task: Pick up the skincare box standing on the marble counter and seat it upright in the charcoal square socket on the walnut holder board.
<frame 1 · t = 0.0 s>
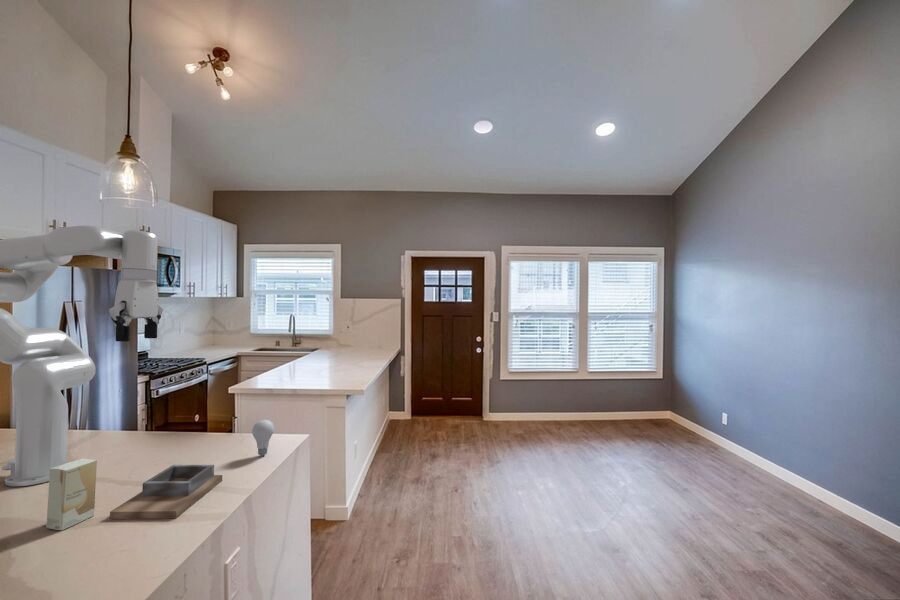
hand: (137, 339, 104), 37 cm above the counter, tool pointing down, fingers open, 9 cm apart
holder board: (171, 497, 92), on the counter
lightbulb: (262, 456, 118), on the counter
skincare box: (71, 522, 81), on the counter
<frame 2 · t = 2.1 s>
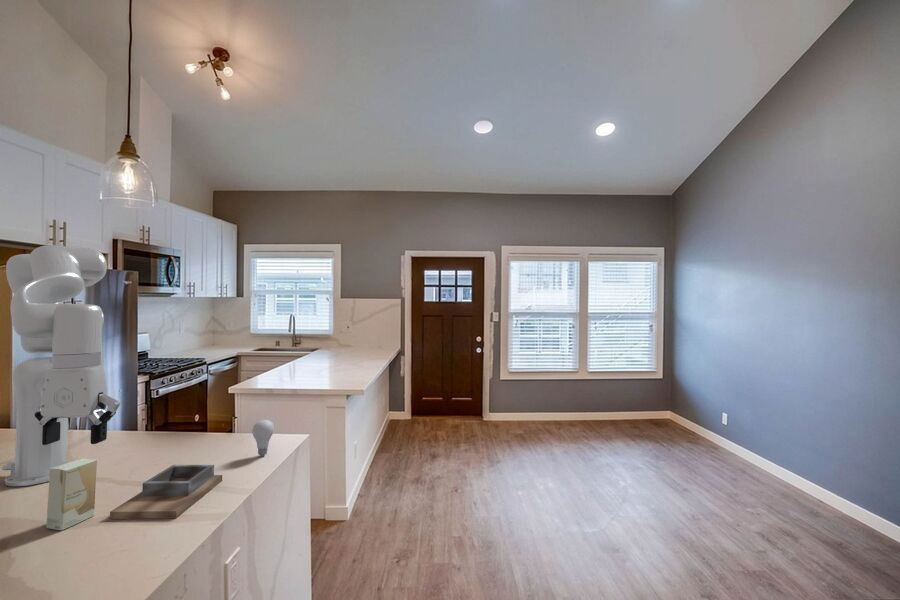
hand: (75, 442, 81), 17 cm above the counter, tool pointing down, fingers open, 9 cm apart
nothing on the counter moved.
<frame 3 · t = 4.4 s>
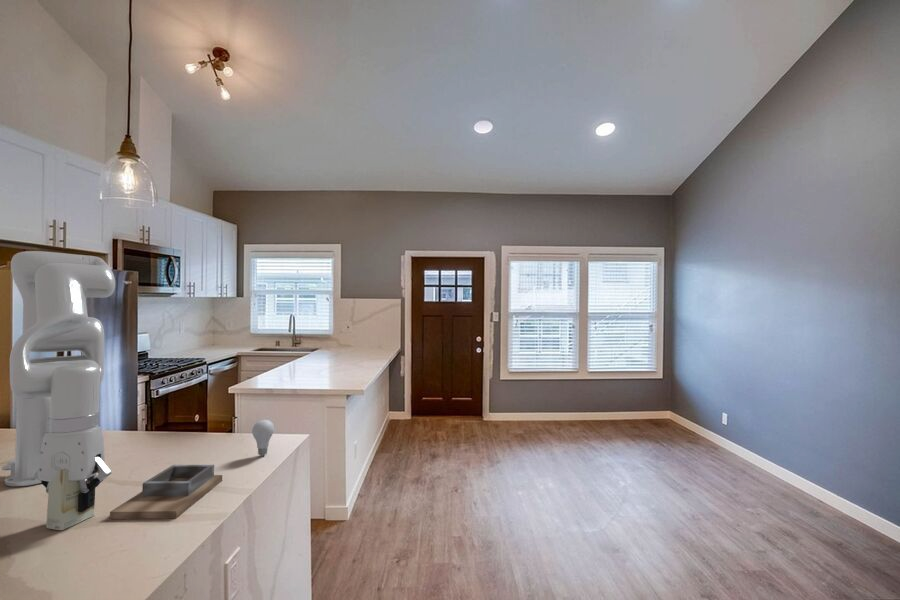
hand: (72, 508, 81), 3 cm above the counter, tool pointing down, fingers closed on skincare box, 5 cm apart
skincare box: (71, 522, 81), on the counter, touching gripper
everything else where it was.
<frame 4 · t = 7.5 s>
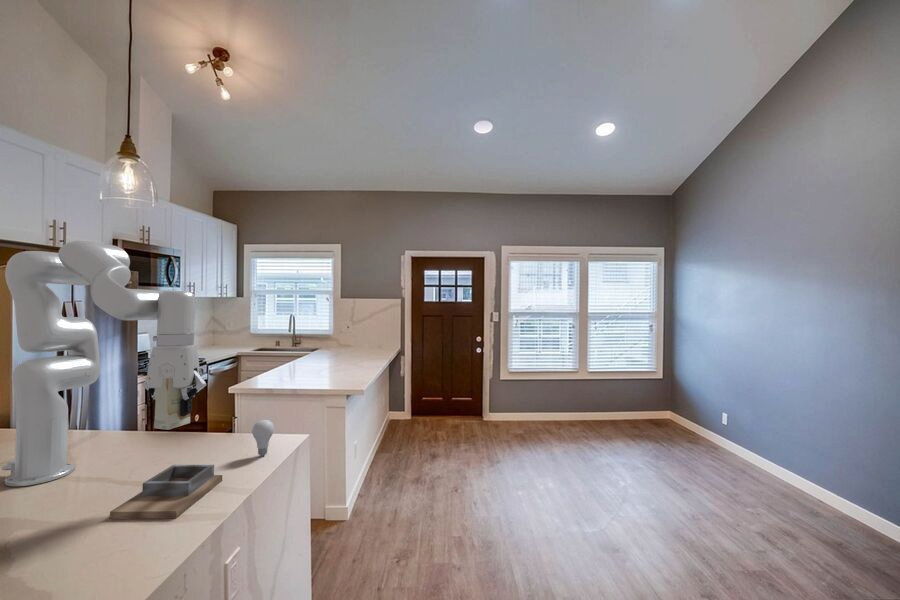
hand: (173, 414, 94), 20 cm above the counter, tool pointing down, fingers closed on skincare box, 5 cm apart
skincare box: (173, 426, 94), point 16 cm above the counter, touching gripper
everything else where it was.
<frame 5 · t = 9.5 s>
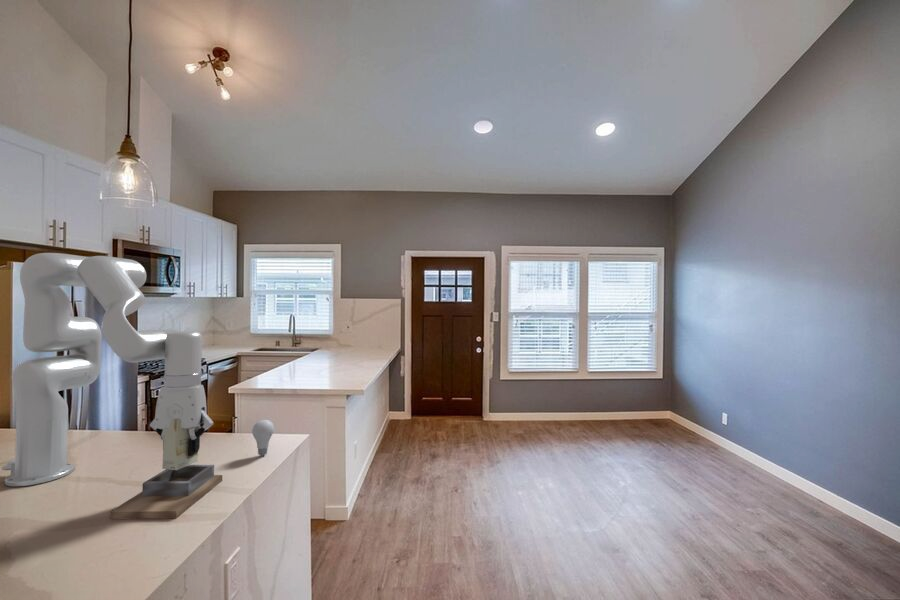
hand: (181, 453, 95), 9 cm above the counter, tool pointing down, fingers closed on skincare box, 5 cm apart
skincare box: (180, 465, 95), point 6 cm above the counter, touching gripper
everything else where it was.
when the fingers open (6 cm above the counter, at t = 11.0 s): skincare box drops 2 cm, resting on holder board.
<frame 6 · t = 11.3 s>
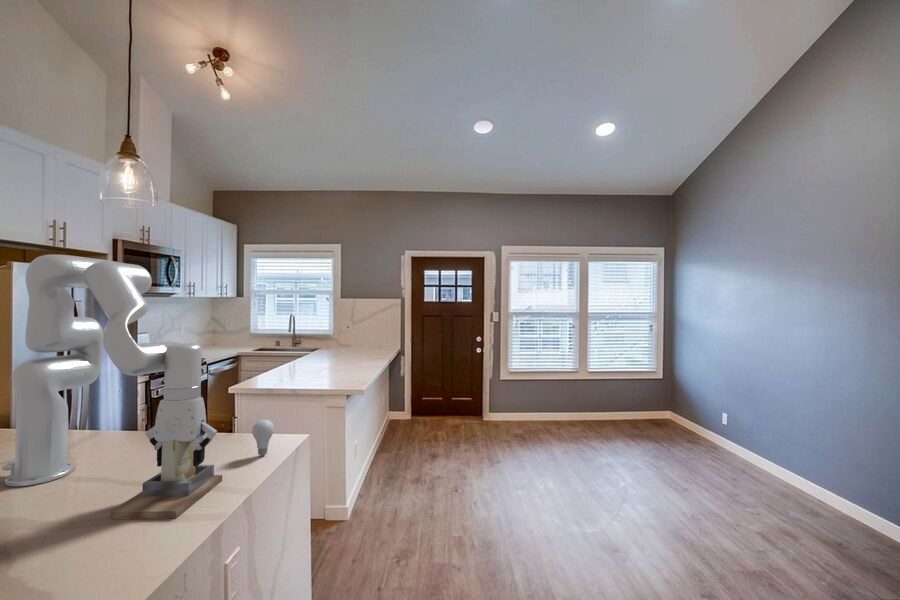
hand: (180, 463, 95), 7 cm above the counter, tool pointing down, fingers open, 8 cm apart
skincare box: (178, 486, 95), point 1 cm above the counter, touching holder board
everything else where it was.
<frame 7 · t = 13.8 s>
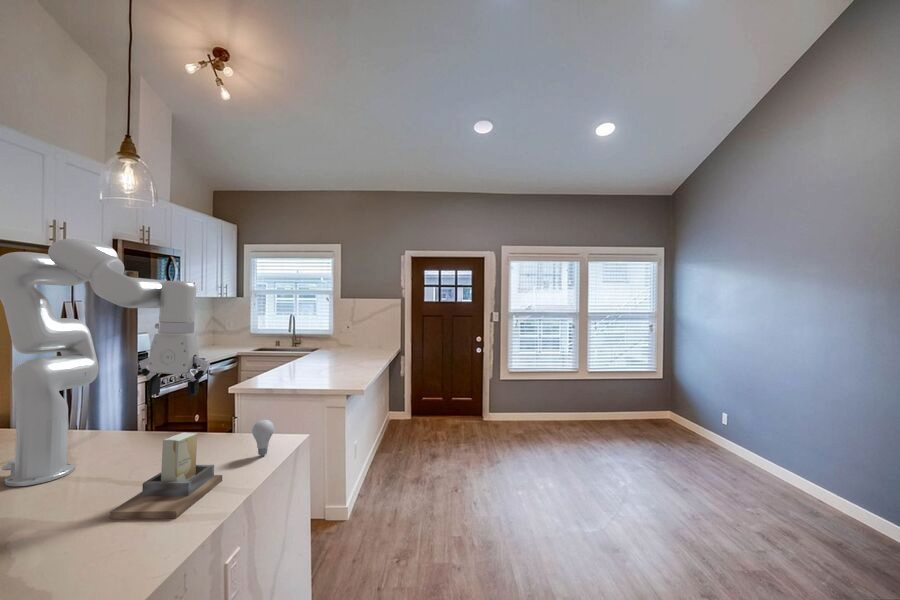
hand: (173, 395, 98), 23 cm above the counter, tool pointing down, fingers open, 9 cm apart
nothing on the counter moved.
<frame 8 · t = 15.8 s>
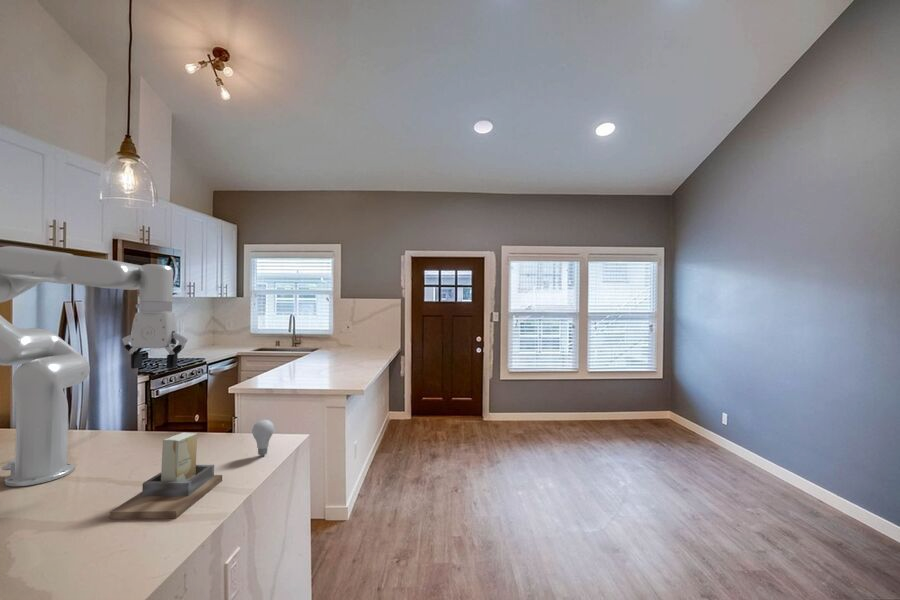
hand: (154, 367, 109), 28 cm above the counter, tool pointing down, fingers open, 9 cm apart
nothing on the counter moved.
at the end: skincare box 0.3 cm from the target spot on the holder board, point 1.3 cm above the holder board's base; skincare box tilted 0°; the gripper is holding nothing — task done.
